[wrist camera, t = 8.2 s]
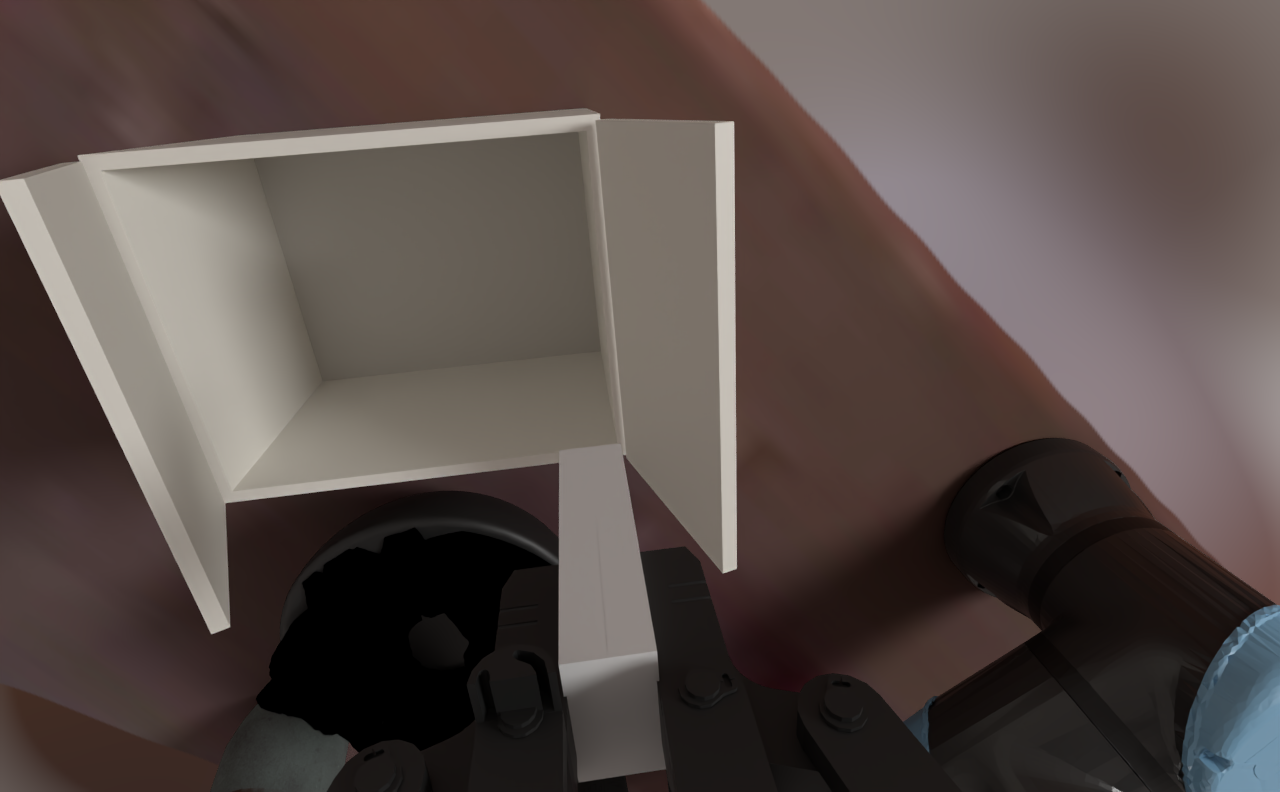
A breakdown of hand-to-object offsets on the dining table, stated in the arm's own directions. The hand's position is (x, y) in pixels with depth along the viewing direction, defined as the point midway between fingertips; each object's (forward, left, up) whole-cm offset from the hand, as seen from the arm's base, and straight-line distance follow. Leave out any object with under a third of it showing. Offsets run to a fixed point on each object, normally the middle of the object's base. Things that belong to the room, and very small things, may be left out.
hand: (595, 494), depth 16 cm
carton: (+8, 0, -29) cm, 30 cm away
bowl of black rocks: (+11, +23, -29) cm, 39 cm away
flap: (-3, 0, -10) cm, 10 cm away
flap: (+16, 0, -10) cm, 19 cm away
